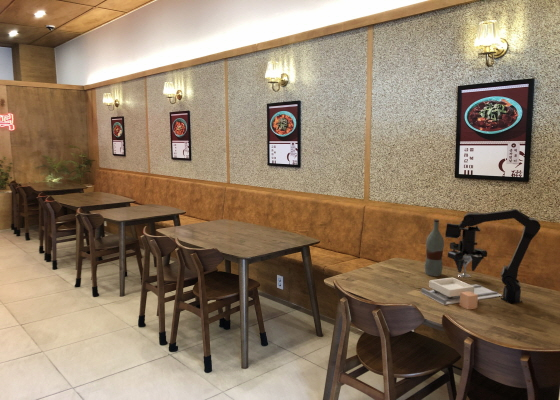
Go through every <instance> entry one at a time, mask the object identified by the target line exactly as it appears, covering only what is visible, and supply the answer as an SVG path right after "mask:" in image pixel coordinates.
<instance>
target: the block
mask: <svg viewBox="0 0 560 400" xmlns="http://www.w3.org/2000/svg"><path fill="white" fill-rule="evenodd" d="M478 301H479V300H478V295H477V294H475V293H472V292H470V291H467V292H461V293H460V303H459V307H462V308H464V309H466V310H472V309H473V310H474V309H477V308H478Z"/></svg>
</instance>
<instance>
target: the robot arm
mask: <svg viewBox="0 0 560 400" xmlns="http://www.w3.org/2000/svg"><path fill="white" fill-rule="evenodd" d="M512 219H513V220H515V221H517V222H518V223H519V224H520V225H522V226H523V228H522V234H521V237H520V239H519V242H518V244H517V247H516V249H515V251H514V253H513V255H512V257H511V260H510V262H509V263H508V265H504V264H503V267H502V270H501V271H500V276H501V281H502V284H504V285H503V286H504V287H503V294H502V295H503V296H502V297H500V300H502V301H505V302H507V303H510V304H511V305H514V304H519V303H523V300H521V294H522V287H521V281H519V280H518V279H517V278H518V273H519V268H520V266H521V264H522V261H523V258H524V257H525V254H526V252H527V250H528V248H529V246H530V244H531V241H532V240H533V239H534V238H535V237H536V235H537V234H538V233H539V231H540V230H541V224H540V221H539V220H538V219H537V218H535V217H530V216H528V215H526V214H525V213H523V212H522V211H520V210H519V209H517V208H511V209H506V210H499V211H498V210H497V211H490V212H476V211H475V212H474V211H473V212H471V211H469V212H466V213H465V214H464V217H463V219H462V220H461V221H460V222H459V224H458V223H449V222H447V223H446V226H445V227H446V228H445V233H444V235H445V238H448V239H449V238H450V239H459V238H460V237H461V236H462V237H461V240H459V242H458V243H456V241H451V242H449V249H450V250H451V251H449V252H447V258H450V259H452V260H453V261H454V263H455V265H456V270H457V272H458V274H462V273H461V272H462V270H463V268H464V265H463V263H464V260H463V259H462V258H463V256H471V258H472V261H471V271H472V272H475V270H476V269H477V267H478V266H479V265H480V263H481V262H482V260H484V259H485V258H487V257H488V251H487V250H485V249H483V248H476V245H478V242H477V241H476V236H477V232H481V228H480V227H479V226H478V225H480V224H484V223H487V222H488V223H489V222H495V221H496V222H497V221H504V220H512ZM458 251H459V252H458ZM460 252H461V253H460Z"/></svg>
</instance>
